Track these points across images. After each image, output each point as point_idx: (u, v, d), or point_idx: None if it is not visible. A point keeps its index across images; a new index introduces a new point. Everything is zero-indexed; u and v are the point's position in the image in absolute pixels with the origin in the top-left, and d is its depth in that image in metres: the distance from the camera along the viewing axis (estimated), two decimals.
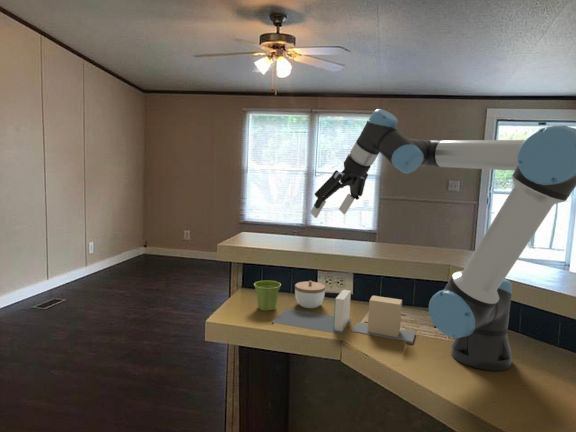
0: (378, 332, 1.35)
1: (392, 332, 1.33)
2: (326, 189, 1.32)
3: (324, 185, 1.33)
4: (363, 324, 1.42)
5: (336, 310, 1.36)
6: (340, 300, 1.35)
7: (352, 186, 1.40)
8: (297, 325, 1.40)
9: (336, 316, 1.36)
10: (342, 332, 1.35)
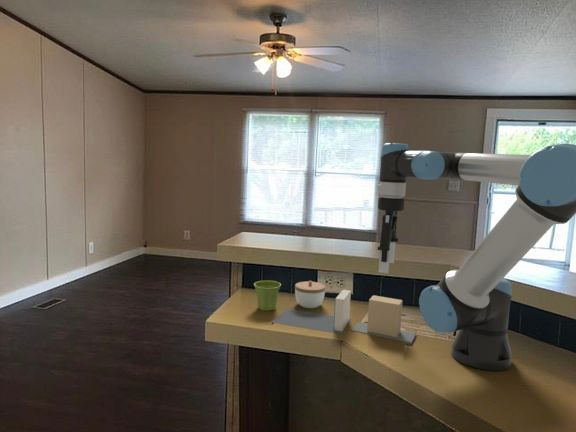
0: (377, 332, 1.35)
1: (391, 332, 1.33)
2: (388, 236, 1.25)
3: (382, 234, 1.25)
4: (364, 324, 1.42)
5: (336, 310, 1.36)
6: (340, 300, 1.35)
7: None
8: (297, 325, 1.40)
9: (336, 316, 1.36)
10: (342, 332, 1.35)
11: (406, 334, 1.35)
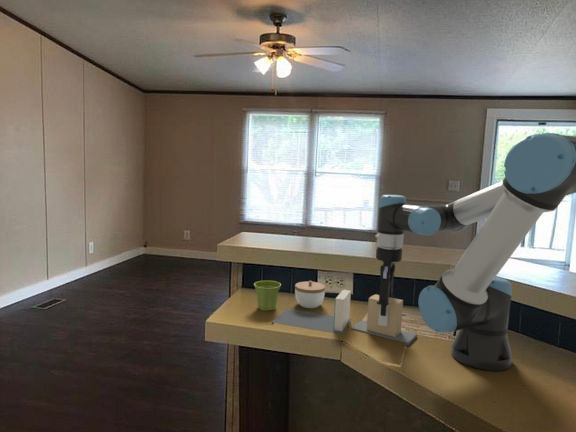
0: (377, 331, 1.35)
1: (390, 331, 1.33)
2: (386, 292, 1.29)
3: (381, 290, 1.29)
4: (366, 322, 1.43)
5: (336, 310, 1.36)
6: (340, 300, 1.35)
7: None
8: (297, 325, 1.40)
9: (336, 316, 1.36)
10: (342, 332, 1.35)
11: (406, 334, 1.34)
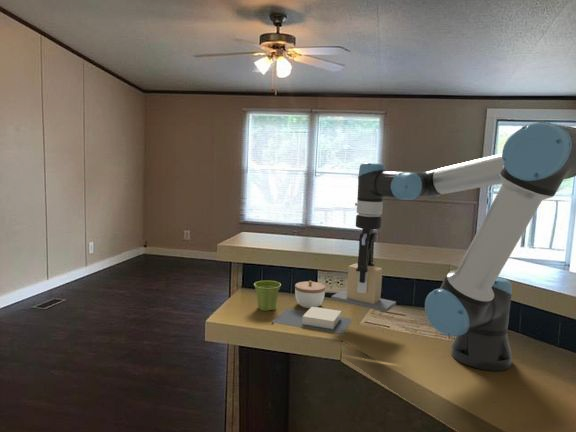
0: (356, 298, 1.37)
1: (369, 298, 1.34)
2: (364, 259, 1.30)
3: (359, 257, 1.30)
4: (347, 292, 1.44)
5: (313, 324, 1.39)
6: (303, 319, 1.40)
7: None
8: (297, 325, 1.40)
9: (319, 325, 1.38)
10: (342, 332, 1.35)
11: (385, 302, 1.36)
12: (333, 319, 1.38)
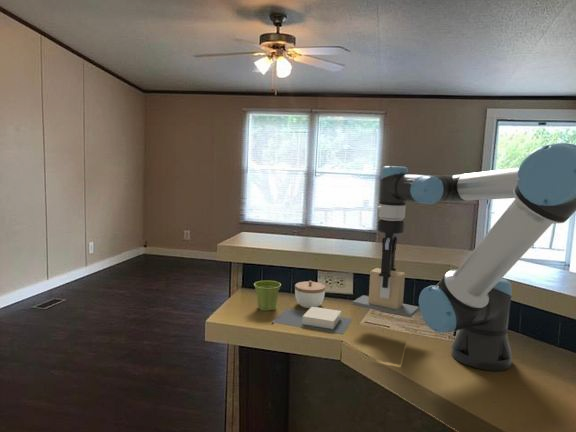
0: (378, 304, 1.34)
1: (392, 304, 1.32)
2: (388, 264, 1.28)
3: (383, 262, 1.28)
4: (368, 297, 1.42)
5: (313, 324, 1.39)
6: (303, 319, 1.40)
7: None
8: (297, 325, 1.40)
9: (319, 325, 1.38)
10: (342, 332, 1.35)
11: (408, 307, 1.33)
12: (333, 319, 1.38)
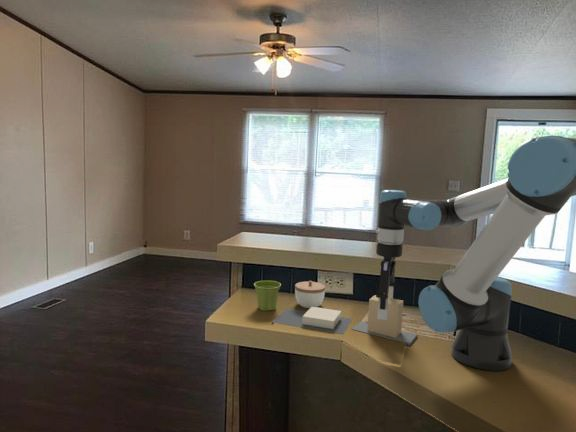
0: (377, 332, 1.35)
1: (391, 332, 1.33)
2: (386, 284, 1.27)
3: (380, 282, 1.27)
4: (366, 323, 1.43)
5: (313, 324, 1.39)
6: (303, 319, 1.40)
7: None
8: (297, 325, 1.40)
9: (319, 325, 1.38)
10: (342, 332, 1.35)
11: (406, 335, 1.35)
12: (333, 319, 1.38)
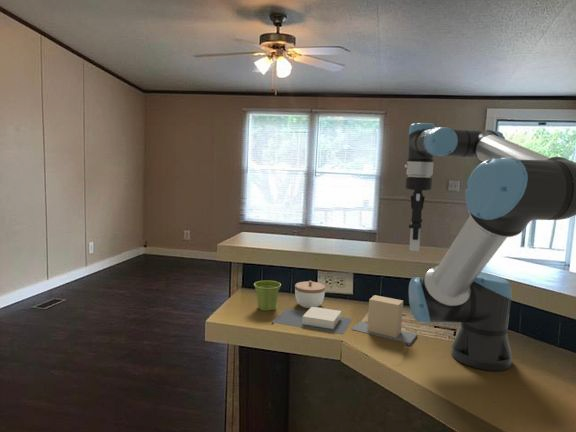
0: (377, 332, 1.35)
1: (391, 332, 1.33)
2: (419, 214, 1.26)
3: (414, 212, 1.27)
4: (366, 323, 1.43)
5: (313, 324, 1.39)
6: (303, 319, 1.40)
7: None
8: (297, 325, 1.40)
9: (319, 325, 1.38)
10: (342, 332, 1.35)
11: (406, 335, 1.35)
12: (333, 319, 1.38)
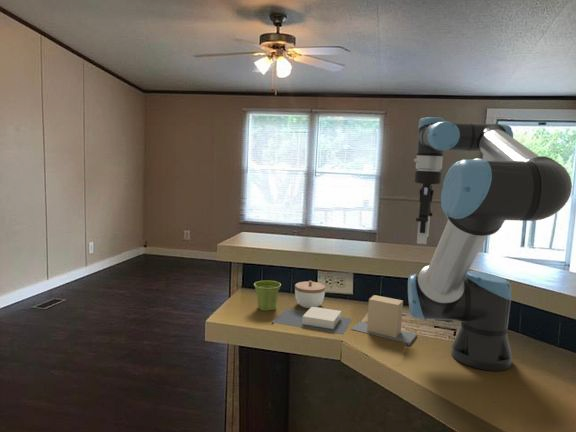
0: (377, 332, 1.35)
1: (390, 332, 1.33)
2: (426, 207, 1.28)
3: (421, 205, 1.29)
4: (365, 323, 1.43)
5: (313, 324, 1.39)
6: (303, 319, 1.40)
7: None
8: (297, 325, 1.40)
9: (319, 325, 1.38)
10: (342, 332, 1.35)
11: (406, 335, 1.35)
12: (333, 319, 1.38)
